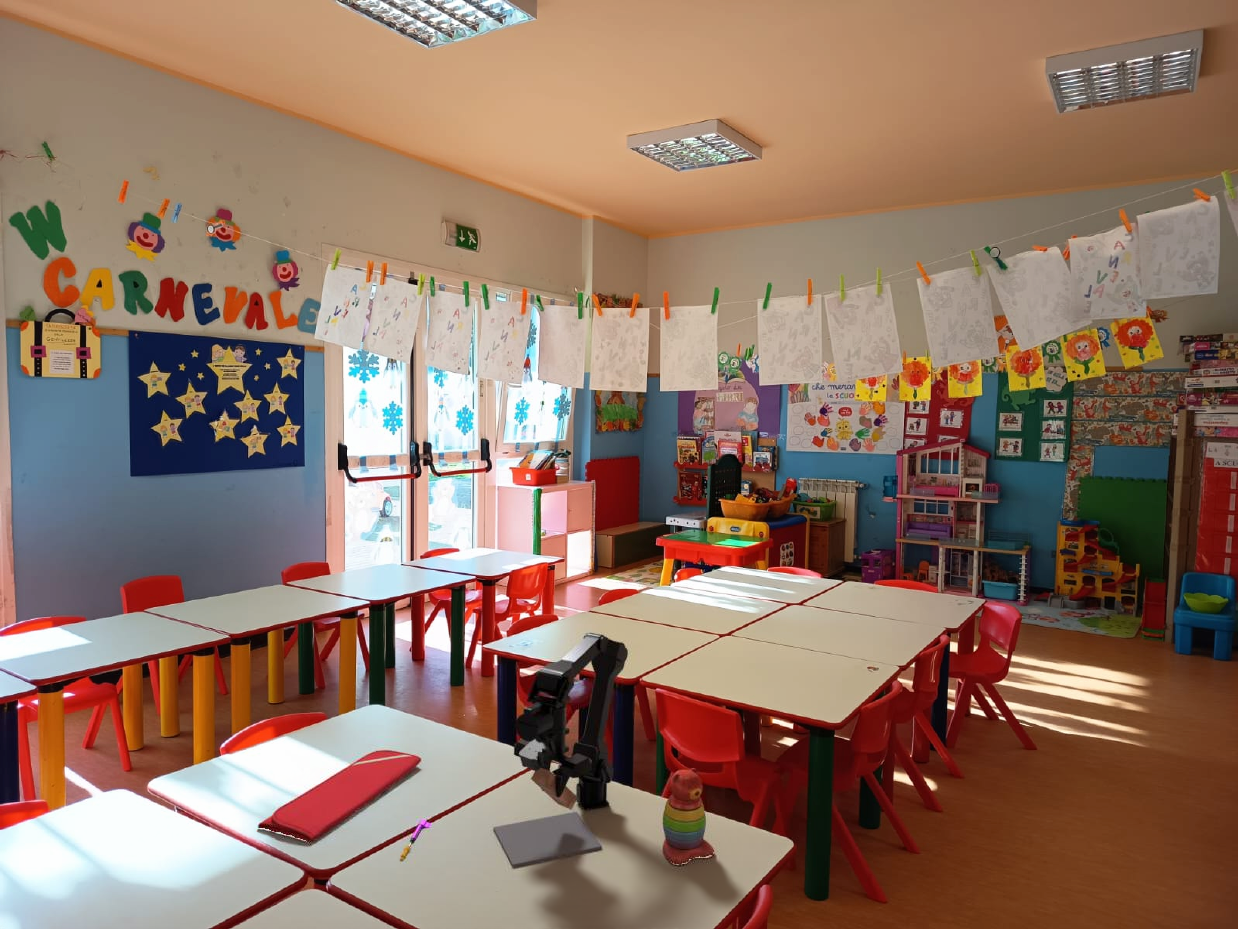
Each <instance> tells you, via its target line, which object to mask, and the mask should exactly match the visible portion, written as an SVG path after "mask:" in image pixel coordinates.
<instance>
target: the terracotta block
mask: <svg viewBox="0 0 1238 929" xmlns="http://www.w3.org/2000/svg"><path fill="white" fill-rule="evenodd" d="M530 780H531V781H532V782H534V783H535V785H537V786H538V787H539V788H540V790H541V791H542V790H543V791H542V792H544V793H545V794H546V795H548V796H549V797H550V798H551V799H552V801H554V802H555V803H556V804H558V805H559V806H561V807H563V808H566V809H568V810H570V811H571V810H572V809H573V808H574V805H575V803H576V802H577V798H578V797H577V796H576V794H575V793H574V792H573V791H572V790H571V789H570V788H568V786H567V785H566V786H565V788H564V790H563V793H562V795H561V796H560V797H556V776H555V775H554V774H553V773H552V771H551V770H550V771H548V770H546V769H543V768H540V769H539V770H537V771H534V772H533V774H532V776H531V778H530Z"/></svg>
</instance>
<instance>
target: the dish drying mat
mask: <svg viewBox="0 0 1238 929" xmlns="http://www.w3.org/2000/svg"><path fill="white" fill-rule="evenodd" d="M420 763H422V758H421V757H420V756H418V755H415V754H411V753H406V752H402V751H397V750H390V749H389V750H388V749H383V750H382V749H381V750H375V751H372V752H370V753H367V754H366V755H363V757H361V758H359V759H357V760H355V761H354V762H352V763H351V764H349V765H348V766H346V767H345V768H343V769H341V770H339V771H338V772H336V773H335V774H332V775H331V776H329V777H328V778H327V779H325V780H324V781H322V782H320V783H318V784H317V785H315V786H313V787H312V788H310V789H308V790H307V791H305V792H303V793H301V794H300V795H299V796H297V797H295V798H294V799H292V800H291V801H289V802H287V803H285V804H283V805H281V806H280V807H278V808H277V809H276V810H275V811H274V812H273V813H272V815H270V816H269V817H267V818H266V819H264V820H262V821H261V822H259V824H258V825H257V828H258V829H259V828H265V829H269V830H271V831H274V832H281V833H283V834H286V835H292V836H294V837H295V838H300V839H303V840H306V841H307V842H312V843H313V842H315V841H317V838H318V839H319V838H320V836H321V837H322V836H323V835H325V834H327V833H328V832H329V831H330V830H333V828H336V826H338V825H339V824H341V823H342V822H344V821H345V820H346V819H348V818H349V817H351V816H352V815H353V814H355V813H357V812H358V811H359V810H360V809H362V808H364V806H366V805H368V804H369V803H370V802H372V801H373V800H374V799H375V798H377V797H378V796H380V795H381V794H383V793H384V792H386V791H387V790H388V789H389V788H390V787H392V786H393V785H395V784H397V783H398V781H400V780H401V779H403V778H404V777H405V776H406V775H408V774H409V773H410V772H411V771H412V770H414V769H415V768H416V767H417V766H418V765H419V764H420ZM314 840H315V841H314ZM307 842H306V843H307Z"/></svg>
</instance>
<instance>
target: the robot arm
mask: <svg viewBox="0 0 1238 929" xmlns="http://www.w3.org/2000/svg"><path fill="white" fill-rule="evenodd" d="M628 655H629V651H628V648H627V647H626V645H625V643H624V642H622V641H618V640H617V641H615V640H613V639H611V638H609V637H607V636H605V635H604V634H600V633H594V632H586V633H585V634H584V636H583V638H582V639H581V640H580V641H579V643H577V644H576V645H575V646H574V647H573V648H572V649H571V650H570V651H569V652H568V653H567V654H566V655H565V656H563V657H562V658H561V659H560V660H558V661H554V662H550V663H548V664H546V665H544V666H543V667H541V668H540V669H539V670H538V672H537V674H535V678H534V681H533V683H532V686H531V688H530V691H529V693H528V697H527V699H526V702H527V703H530V704H531V705H530V706H525V707H524V708H523V713H522V714H520V715H519V716H518V717H517V719H516V721H515V722H514V723H515V725H514V726H515V732H516V734H517V735H518V736H519V738H520V740H518V741H516V742H515V743H514V745H513V746H514V747H513V756H516V757H517V758H519V759H520V762H521V766H522V767H524V768H528V769H530V770H532V771H534V772H535V771H537V770H539V769H540V768H543V769H546V770H548V771H551V767H552V766H551V765H552V762H553V763H556V764H558V766H557V768H556V769H554V770H552V771H551V772H552V773H553V774H554V775H555V776H556V797H560V796H561V795H562V793H563V790H564V788H565V786H566V787H567V784H568V782H569V780H570V778H572V779H578V782H577V783H576V788H575V789H576V791H575V793H576V794H575V795H576V796H577V797H578V798H577V800H576V802H577V803H578V804H579V805H580V806H581V807H582V809H583V810H585V811H587V810H594V809H597V808H603V807H608V806H610V802H609V801H608V800H607V798H608V797H607V796H608V795H607V793H608V787H607V786H608V784H609V783H612V779H613V777H614V767H613V766H612V765H611V764H610V762H608V754H609V750H608V748H607V746H606V742H605V735H606V729H607V724H608V719H609V718H608V717H609V712H610V706H611V702H612V701H611V700H612V697H613V691H614V685H615V680H616V678H617V677H618V676H619V674H620V673H622V671H623V670H624V667H625V664H626V661H627V660H628ZM589 664H591V666H592V670H593V672H594V681H593V686H592V690H591V695H590V700H589V706H588V707H589V708H588V713H587V717H586V722H585V728H584V733H583V736H582V737H581V738H580V739H579V740H578V741H576V742H574V744H573V747H572V752H571V755H566V753H568V752H569V751H570V747H569V746H568V745H566V735H569V734H570V728H569V727H566V725H567V723H566V722H567V703H568V702H569V701H571V699H572V697H571V696H570V695H569V694H570V692H571V691H572V690H573V688H574V686H575V678H576V677H577V676H578V675H579V674H580V673H581V672H582V671H583V670H584V669H585V668H586V667H587V666H588V665H589ZM541 694H542V695H541ZM545 695H546V696H545ZM541 791H542V792H544V791H543V790H542V789H541Z"/></svg>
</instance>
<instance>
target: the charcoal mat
mask: <svg viewBox="0 0 1238 929" xmlns="http://www.w3.org/2000/svg"><path fill="white" fill-rule="evenodd" d="M493 832H494V833H495V836H496V838H497V839H498V841H499V843H500V845H501V847H502V849H503V851H504V853H505V855H506V857H507V859H508V861H509V863H510V865H511V866H512V868H515V867H516V866H517V867H521V866H525V865H530V864H535V863H540V862H545V861H550V860H555V859H559V858H563V857H564V858H565V857H569V856H574V855H578V854H584V853H587V852H589V853H590V852H593V851H598V850H601V849H602V850H603V845H602V844H601V842H599V840H598V838H597V837H596V836H595V835H594V833H593V832H592V831H591V828H589V827H588V824H586V822H585V820H583V818H582V817H581V816H580V813H578V812H577V811H573V812H569V813H568V812H567V813H563V814H558V815H551V816H546V817H541V818H536V819H535V818H534V819H530V820H525V821H519V822H514V823H509V824H504V825H503V824H502V825H498V826H493ZM517 867H516V868H517Z"/></svg>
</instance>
